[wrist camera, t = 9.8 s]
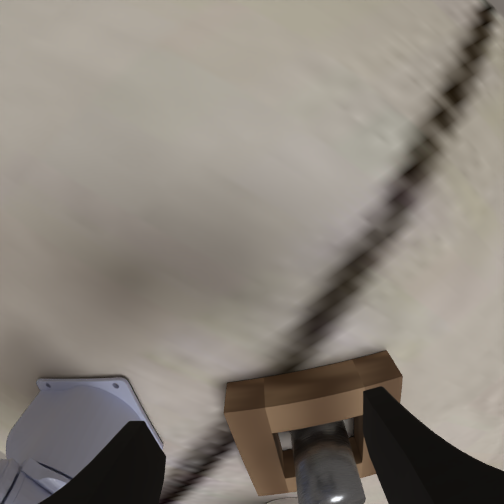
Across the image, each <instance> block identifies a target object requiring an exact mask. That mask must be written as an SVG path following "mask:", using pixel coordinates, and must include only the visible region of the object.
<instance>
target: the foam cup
mask: <svg viewBox="0 0 504 504" xmlns="http://www.w3.org/2000/svg"><path fill="white" fill-rule="evenodd" d="M266 504H298V498H284V499H278V500H273V501H271V502H268V503H266Z"/></svg>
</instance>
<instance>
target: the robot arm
mask: <svg viewBox="0 0 504 504" xmlns="http://www.w3.org/2000/svg"><path fill="white" fill-rule="evenodd" d="M115 383H116V384H118V385H116V384H115ZM36 384H37V386H38V387H39V389H40V392H39V393H38V395H37V396H36V397H35V398H34V400H33V401H32V402H31V404H30V405H29V406H28V408H27V409H26V410H25V412H24V413H23V414H22V416H21V417H20V418H19V420H18V421H17V422H16V424H15V425H14V426H13V428H12V429H11V431H10V433H9V435H8V438H7V442H6V457H7V459H1V460H0V504H158V503H159V498H160V494H161V490H162V486H163V482H164V473H165V462H166V456H165V454H164V452H163V451H162V449H163V444H162V442H161V440H160V439H159V437H158V435H157V434H156V432H155V430H154V428H153V427H152V425H151V423H150V421H149V420H148V418H147V416H146V414H145V412H144V411H143V409H142V407H141V405H140V403H139V401H138V399H137V397H136V396H135V394H134V392H133V390H132V388H131V386H130V384H129V382H128V381H127V380H126V379H125V378H121V377H118V378H91V379H41V378H40V379H38V380H37V381H36ZM363 435H364V438H365V442H366V446H367V449H368V453H369V456H370V459H371V461H372V464H373V466H374V469H375V471H376V474H377V476H378V479H379V481H380V483H381V486H382V488H383V491H384V493H385V496H386V498H387V501H388V503H389V504H504V471H502V470H499V469H497V468H494V467H492V466H489V465H487V464H485V463H483V462H481V461H479V460H477V459H475V458H473V457H471V456H469V455H468V454H466V453H464V452H462V451H461V450H459V449H457V448H456V447H454V446H453V445H451V444H450V443H448V442H447V441H445V440H444V439H442V438H441V437H440V436H438V435H437V434H435V433H434V432H433V431H432V430H430V429H429V428H428V427H426V426H425V425H424V424H423V423H422V422H420V421H419V420H418V419H417V418H416V417H414V416H413V415H412V414H411V413H410V412H409V411H408V410H407V409H406V408H404V407H403V406H402V405H401V404H400V403H399V402H398V401H397V400H396V399H395V398H394V397H393V396H392V395H391V394H390V393H389V392H388V391H387V390H386V389H385V388H384V387H382V386H379V387H376V388H372V389H369V390H365V391H363Z"/></svg>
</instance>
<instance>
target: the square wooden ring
mask: <svg viewBox="0 0 504 504" xmlns="http://www.w3.org/2000/svg"><path fill="white" fill-rule="evenodd" d="M402 378H403V376H402V374H401V373H400V371H399V369H398V368H397V366H396V365H395V363H394V361H393V360H392V358H391V356H390V355H389V353H388V352H387V350H386V351H383V352H379V353H375V354H372V355H368V356H364V357H360V358H356V359H352V360H348V361H344V362H339V363H335V364H331V365H326V366H322V367H317V368H312V369H307V370H302V371H297V372H292V373H287V374H281V375H275V376H269V377H263V378H257V379H251V380H244V381H237V382H229V383H227V388H226V397H225V406H224V415H225V417H226V420H227V423H228V425H229V428H230V430H231V433H232V435H233V438H234V440H235V443H236V445H237V448H238V450H239V452H240V455H241V457H242V460H243V462H244V464H245V467H246V469H247V471H248V474H249V476H250V478H251V480H252V483H253V485H254V487H255V489H256V492H257V494H258V496H265V495H274V494H282V493H289V492H296V491H297V485H296V476H295V467H294V458H293V449H292V450H285V451H282V447H281V443H280V439H279V436H278V432H284V431H290V430H296V429H302V428H307V427H312V426H317V425H322V424H327V423H331V422H336V421H340V420H344V419H348V418H352V417H354V437H350V438H349V441H350V445H351V448H352V452H353V455H354V459H355V462H356V466H357V469H358V473H359V476H360V478H363V477H366V476H370V475H373V474H376V471H375V469H374V466H373V464H372V461H371V459H370V456H369V453H368V449H367V446H366V442H365V438H364V435H363V391H365V390H369V389H372V388H376V387H379V386H382V387H384V388H385V389H386V390H387V391H388V392H389V393H390V394H391V395H392V396H393V397H394V398H395V399H396V400H397V401H398V402H399V403H400V399H401V389H402Z"/></svg>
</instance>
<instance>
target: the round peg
mask: <svg viewBox="0 0 504 504" xmlns="http://www.w3.org/2000/svg"><path fill="white" fill-rule="evenodd" d="M290 432H291V441H292V449H293V458H294V467H295V476H296V485H297V494H298V504H364V502H365V499H366V498H365V494H364V491H363V487H362V483H361V480H360V476H359V473H358V469H357V466H356V462H355V459H354V455H353V452H352V448H351V445H350V441H349V438H348V435H347V431H346V428H345V425H344V421H343V420H340V421H336V422H331V423H327V424H322V425H317V426H312V427H307V428H302V429H296V430H290Z"/></svg>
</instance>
